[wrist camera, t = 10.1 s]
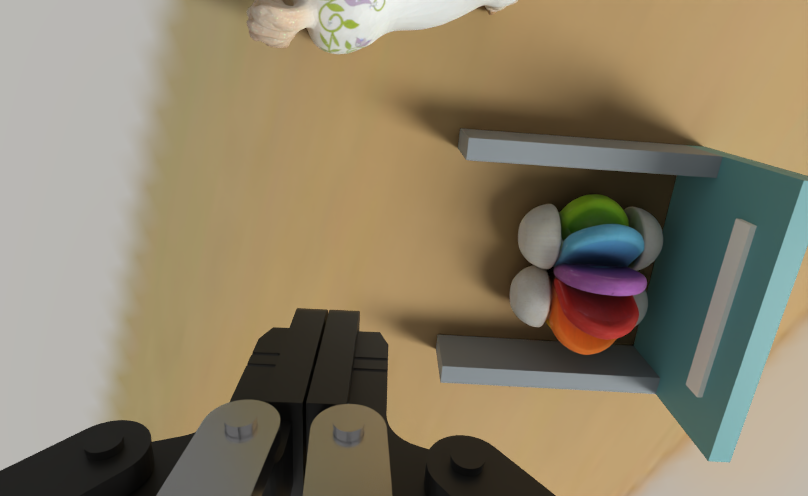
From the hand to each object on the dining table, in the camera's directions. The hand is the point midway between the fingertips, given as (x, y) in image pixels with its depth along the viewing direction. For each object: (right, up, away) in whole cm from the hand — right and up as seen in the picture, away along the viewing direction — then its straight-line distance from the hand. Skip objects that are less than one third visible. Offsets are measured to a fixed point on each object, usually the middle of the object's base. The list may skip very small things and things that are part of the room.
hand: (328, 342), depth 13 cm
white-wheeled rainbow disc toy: (+13, +2, +22) cm, 26 cm away
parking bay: (+13, +2, +22) cm, 25 cm away
